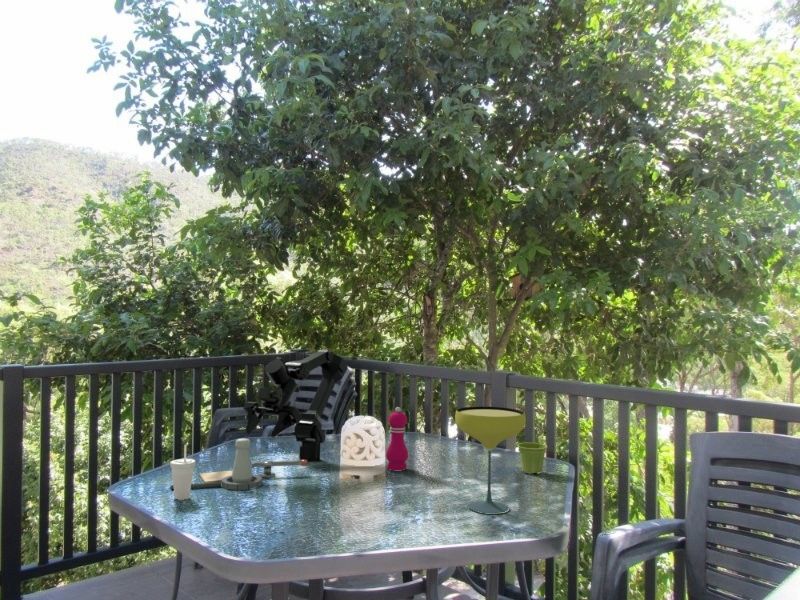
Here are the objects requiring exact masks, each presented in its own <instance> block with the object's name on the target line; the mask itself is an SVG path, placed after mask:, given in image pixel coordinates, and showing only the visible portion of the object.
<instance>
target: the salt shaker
mask: <svg viewBox="0 0 800 600" xmlns="http://www.w3.org/2000/svg"><path fill="white" fill-rule="evenodd" d="M234 445H235V448H236V453H235V457H234V462H233V463H234V464H233V468H232V470H233V472H232V480H233V482H232V483H248V482H252V481H251V479H252V475H253V470H252V462H251V458H250V451H249V448H250V447H251V440H250V439H249V438H243V437H242V438H238V439H236V440H235V444H234Z"/></svg>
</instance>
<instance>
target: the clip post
mask: <svg viewBox="0 0 800 600" xmlns="http://www.w3.org/2000/svg"><path fill="white" fill-rule="evenodd" d="M258 476H261V477H262V479H270V478H274V477H276V473H275V472H272V467H263V472H260V473H259V474H258Z"/></svg>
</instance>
